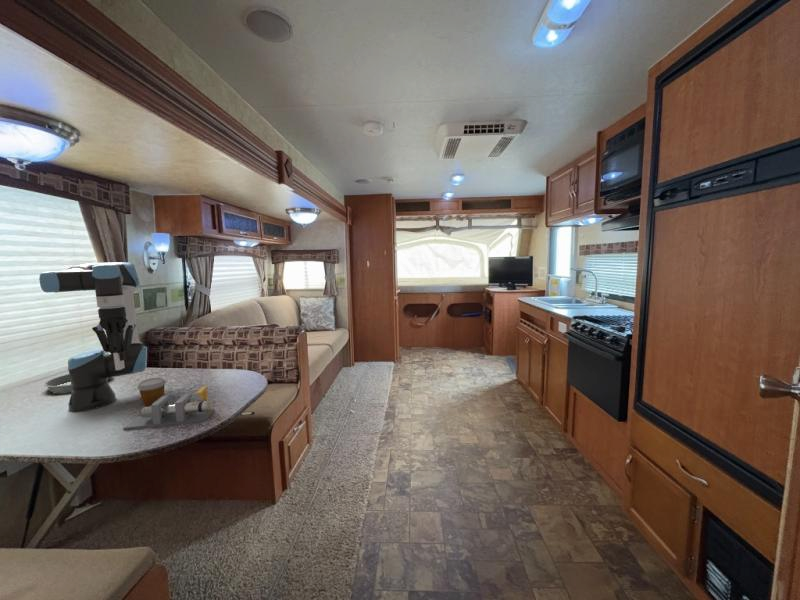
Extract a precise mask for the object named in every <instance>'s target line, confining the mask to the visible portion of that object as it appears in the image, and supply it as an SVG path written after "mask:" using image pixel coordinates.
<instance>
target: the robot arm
mask: <svg viewBox="0 0 800 600" xmlns="http://www.w3.org/2000/svg"><path fill="white" fill-rule="evenodd" d="M39 284H40V288H41V290H42V291H43V292H44V293H46V294H47V293H55V294H56V293H57V294H58V293H64V292H65V293H67V292H80V291H81V292H82V291H85V292H86V291H94V292H95V299H96V306H97V308H98V309H97V312H98V313H97V314H98V319H99V322H98V324H97V325H96V326H94V327H92V328H91V329H92V331H93V332H94V333H95V334H96V336H97V338H98V341H99V343H100V345H101V347H102V348H101V349H100V348H99V349H92V350H89V351H84V352H82V353H78V354H75V355H73V356H71V357H70V358H68V360H67V370H68V374H69V375H70V381H71V387H72V392H71V394H70V397H69V401H68V410H69V411H70V412H84V411H91V410H94V409H98V408H101V407H104V406H107V405H110V404H111V403H113V402H114V401H115V400H116V399H117V398H116V393H115V392H114V390H113V388H112V387H111V385H110V384H109V379H110V378H115V377H121V376H126V375H127V376H128V375H134V374H138V373H142V372H144V371H146V369H147V364H148V347H147V346H146V345H144V344H143V342H141V341H140V340H139V336H138V335H139V334H138V328H137V327H138V325H137V319H136V307H135V299H134V292H136V290H137V287H139V286H140V280H139V277H138V273H137V270H136V266H135V264H133V263H132V262H124V261H123V262H121V261H120V262H91V263H89V262H88V263H84V264H79V265H73V266H70V267H68V268H66V270H59V271H58V270H52V271H43V272H41V273H40V274H39Z"/></svg>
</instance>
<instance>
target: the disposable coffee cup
mask: <svg viewBox="0 0 800 600" xmlns="http://www.w3.org/2000/svg"><path fill="white" fill-rule="evenodd" d="M165 385H166V380H165V379H164V378H163V377H154V378H153V377H152V378H148V379H145V380H142V381H139V382H138V384H137V388H136V389H138V391H139V393H140V397H141V401H142V403H143V407H149V406H151V405H152V404H153V403H154V402H155V401H157V400H158V399H159V398H160V397H162V396H165Z"/></svg>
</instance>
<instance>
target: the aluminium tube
mask: <svg viewBox="0 0 800 600" xmlns="http://www.w3.org/2000/svg"><path fill="white" fill-rule="evenodd" d="M207 409H208V402H207V401H203V400H201V401H192V402H190V403H185V404H184V410H185V413H195V412H205V411H207ZM161 413H162V416H166V415H176V411H175V403H172V404H171V403H170V405H162V406H161ZM140 416H141V417H142V418H146V417H152V411H151V406H149V407H144V406H143V407H142V408H141V410H140Z"/></svg>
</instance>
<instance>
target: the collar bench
mask: <svg viewBox="0 0 800 600" xmlns="http://www.w3.org/2000/svg"><path fill="white" fill-rule="evenodd" d="M208 392H209V391H208V385H204V386H202V387H200V389H198V390H197V391H196V393H195V396H199V399H200V400H201V401H207V402H208V409H207V411H205V412H195V413H185V410H184V404H185V403H190V402H193V399H192V393H184V394H182V396H181V397H179V398H178V399H177V400H176V401H175V402H174V404H175V411H176V415H166V416H162V413H161V406H162V405H170V404H171V401H170V395H169V394H167V395H164V396H162V397H160V398H159V399H158V400H157V401H155V402H154V403H153V404H152V405H151V411H152V417H146V418H142V417H141V415H138V416H136V417H135V418H133V419H132V420H131V421H130V422H129V423H127V424H126V425H124V427H123V428H122V429H123V431H130V430H139V429H140V430H141V429H147V428H148V429H149V428H150V429H151V428H156V427H157V428H158V427H165V426H166V427H167V426H176V425H177V426H178V425H187V424H194V423H203V422H207V421H208V419H209V418H210V417H211V415H212V414H214V411H215V408H210V402H209V393H208Z"/></svg>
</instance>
